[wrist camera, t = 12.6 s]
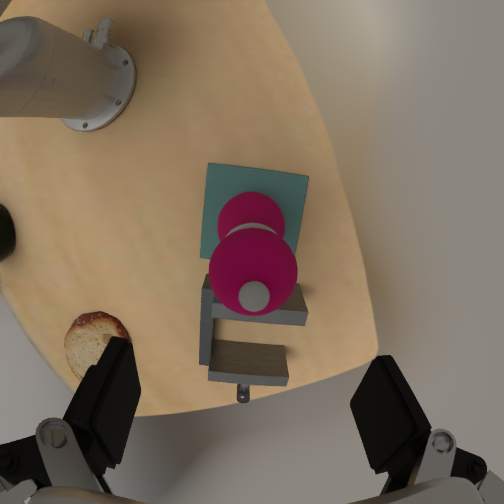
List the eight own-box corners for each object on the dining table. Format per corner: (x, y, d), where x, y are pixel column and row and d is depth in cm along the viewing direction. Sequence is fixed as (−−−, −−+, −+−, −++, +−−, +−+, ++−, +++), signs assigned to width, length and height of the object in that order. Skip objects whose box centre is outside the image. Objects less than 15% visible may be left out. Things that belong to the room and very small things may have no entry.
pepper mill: (274, 248, 35) (301, 358, 17) (217, 240, 35) (186, 344, 16) (285, 192, 33) (334, 252, 14) (225, 183, 32) (193, 231, 14)
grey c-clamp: (206, 274, 37) (198, 301, 31) (298, 284, 38) (308, 312, 31) (201, 374, 44) (196, 405, 37) (274, 381, 45) (277, 411, 38)
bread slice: (85, 382, 47) (79, 394, 43) (45, 313, 40) (35, 324, 37) (156, 386, 46) (152, 400, 42) (118, 308, 40) (109, 321, 36)
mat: (208, 163, 32) (208, 163, 31) (307, 176, 33) (308, 176, 32) (200, 256, 36) (199, 257, 36) (291, 266, 37) (292, 268, 36)
